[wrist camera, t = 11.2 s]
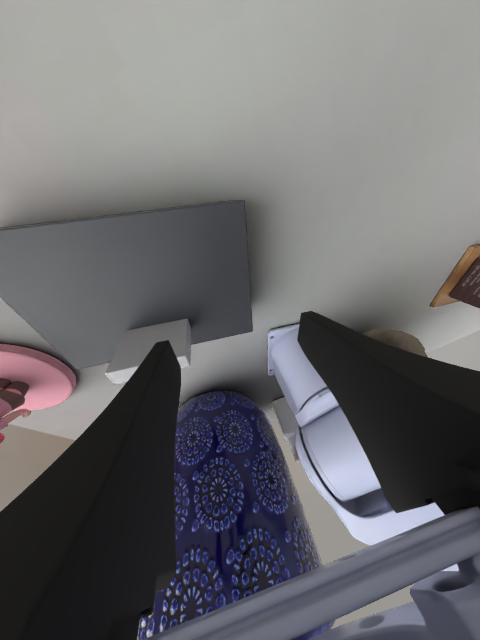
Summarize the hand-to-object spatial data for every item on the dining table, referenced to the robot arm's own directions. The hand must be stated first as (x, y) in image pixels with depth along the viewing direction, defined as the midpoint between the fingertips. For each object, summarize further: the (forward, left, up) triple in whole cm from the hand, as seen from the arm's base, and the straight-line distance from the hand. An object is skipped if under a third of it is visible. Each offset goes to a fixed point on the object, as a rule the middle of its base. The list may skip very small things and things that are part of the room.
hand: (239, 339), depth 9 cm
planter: (-24, +5, -10) cm, 26 cm away
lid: (+1, +6, -6) cm, 9 cm away
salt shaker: (-28, -8, -10) cm, 31 cm away
